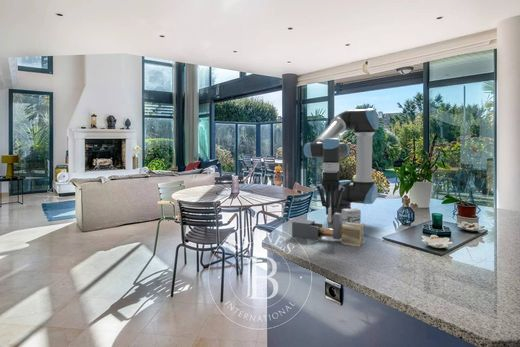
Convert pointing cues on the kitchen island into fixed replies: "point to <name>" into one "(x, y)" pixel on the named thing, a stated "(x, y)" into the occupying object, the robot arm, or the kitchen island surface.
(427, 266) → the kitchen island surface
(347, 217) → the ink box
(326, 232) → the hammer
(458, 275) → the kitchen island surface
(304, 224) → the sleeve
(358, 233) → the socket
